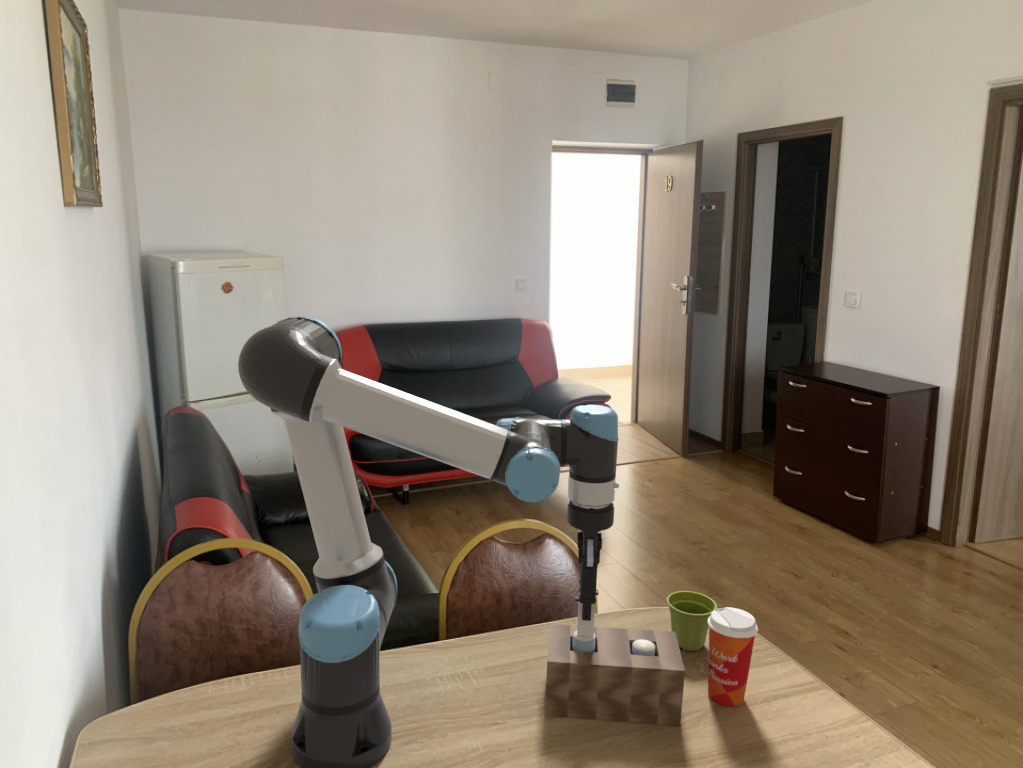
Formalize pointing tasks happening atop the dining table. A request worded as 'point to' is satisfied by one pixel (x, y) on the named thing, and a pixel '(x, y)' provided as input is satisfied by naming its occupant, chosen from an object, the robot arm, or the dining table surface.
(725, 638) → the coffee cup
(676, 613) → the plant pot
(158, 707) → the dining table surface
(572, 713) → the collar block
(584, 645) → the peg
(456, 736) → the dining table surface
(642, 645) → the peg
